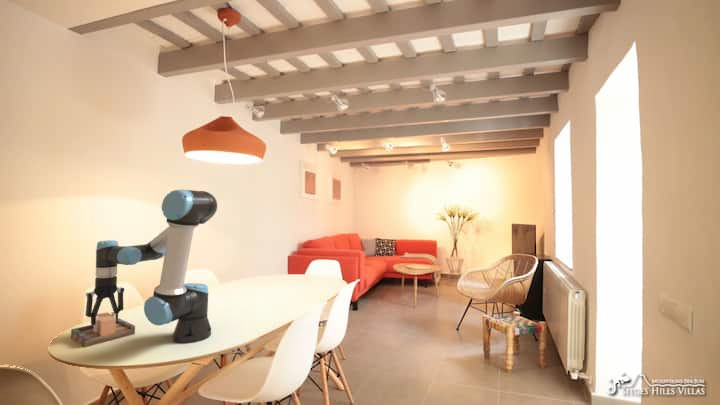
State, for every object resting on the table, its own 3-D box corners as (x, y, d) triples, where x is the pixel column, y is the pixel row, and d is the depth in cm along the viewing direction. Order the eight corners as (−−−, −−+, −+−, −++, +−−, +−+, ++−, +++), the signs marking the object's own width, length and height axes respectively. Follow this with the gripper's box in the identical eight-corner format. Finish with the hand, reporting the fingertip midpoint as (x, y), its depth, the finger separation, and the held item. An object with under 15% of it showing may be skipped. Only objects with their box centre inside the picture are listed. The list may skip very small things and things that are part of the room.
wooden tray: (134, 334, 151) (135, 325, 151) (84, 347, 136) (85, 338, 136) (119, 326, 160) (119, 318, 160) (70, 338, 145) (71, 329, 145)
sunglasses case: (115, 332, 145) (115, 318, 145) (100, 336, 141) (101, 321, 141) (107, 325, 153) (107, 312, 154) (93, 328, 150) (93, 314, 150)
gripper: (126, 272, 157) (125, 322, 157) (76, 278, 142) (74, 334, 142) (134, 274, 153) (132, 325, 153) (82, 281, 138) (80, 338, 137)
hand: (104, 329), depth 147 cm, fingers open, 6 cm apart
